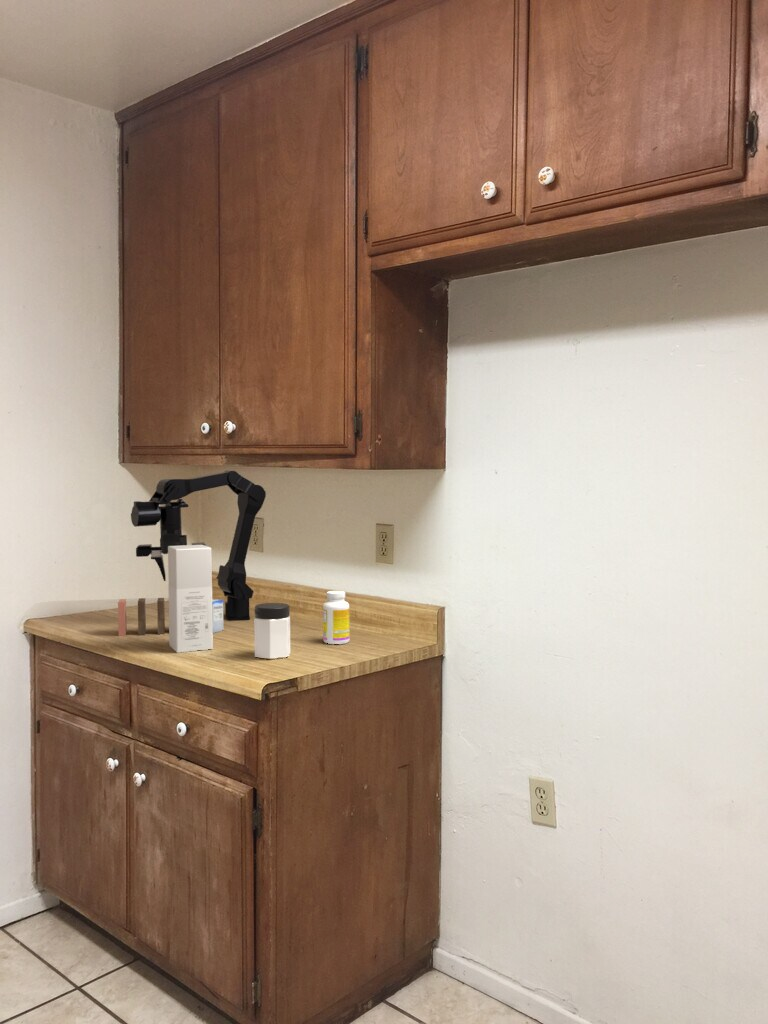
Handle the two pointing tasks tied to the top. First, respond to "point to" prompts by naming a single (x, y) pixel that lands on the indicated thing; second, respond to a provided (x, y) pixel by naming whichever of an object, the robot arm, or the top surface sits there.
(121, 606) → the tile
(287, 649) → the jar
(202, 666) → the top surface
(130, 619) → the top surface
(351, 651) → the top surface
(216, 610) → the medicine box
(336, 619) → the supplement bottle
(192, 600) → the tall white carton
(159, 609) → the tile
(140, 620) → the tile
